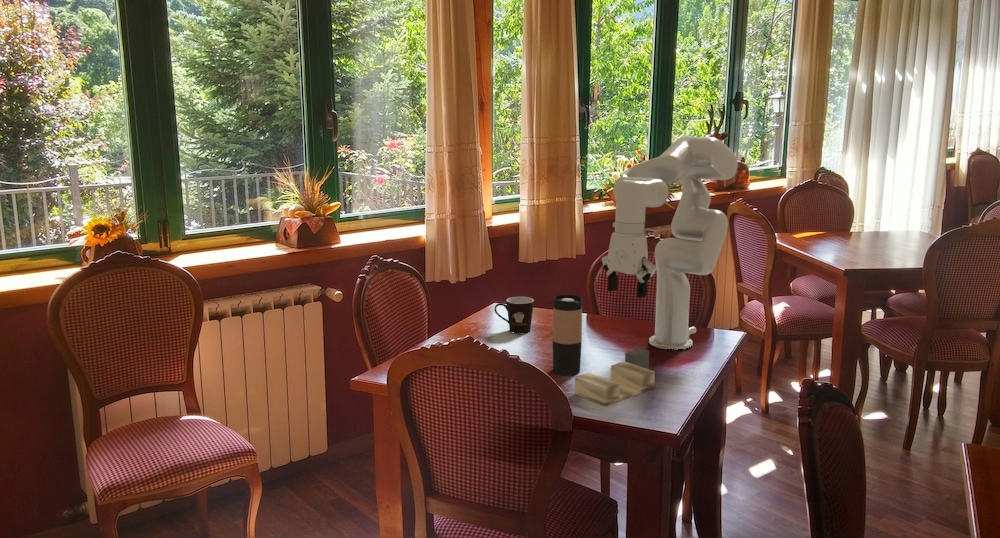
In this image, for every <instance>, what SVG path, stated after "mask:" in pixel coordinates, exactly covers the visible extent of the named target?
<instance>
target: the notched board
mask: <svg viewBox="0 0 1000 538" xmlns="http://www.w3.org/2000/svg"><path fill="white" fill-rule="evenodd" d="M655 377H656V372H655V370H651V369H650V368H649V369H646V368H643V367H640V366H637V365H634V364H631V363H628V362H625V360H624V361H621V362H618V363H615V364H612V365H610V379H609V378H605V377H602V376H600V375H598V374H595V373H593V372H587V373H583V374H582V373H581V374H579V375H575V376H574V395H577V396H579V397H580V398H583V399H586V400H588V401H591V402H594V403H595V404H598V405H601V406H603V407H606V406H609V405H612V404H614V403H617V402H620V401H622V400H625V399H629V398H631V397H634V396H638V395H639V394H642V393H646V392H647V391H650V390H653V389H655V383H656V382H655Z"/></svg>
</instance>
